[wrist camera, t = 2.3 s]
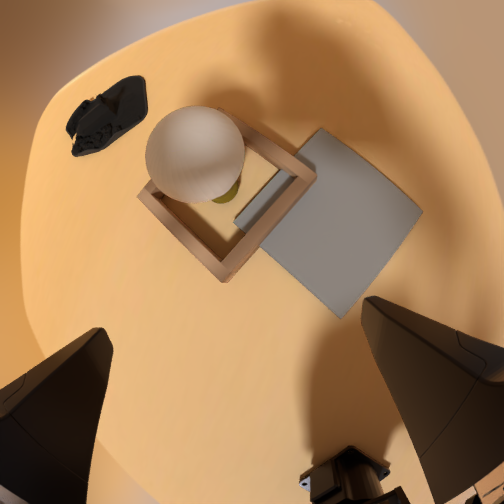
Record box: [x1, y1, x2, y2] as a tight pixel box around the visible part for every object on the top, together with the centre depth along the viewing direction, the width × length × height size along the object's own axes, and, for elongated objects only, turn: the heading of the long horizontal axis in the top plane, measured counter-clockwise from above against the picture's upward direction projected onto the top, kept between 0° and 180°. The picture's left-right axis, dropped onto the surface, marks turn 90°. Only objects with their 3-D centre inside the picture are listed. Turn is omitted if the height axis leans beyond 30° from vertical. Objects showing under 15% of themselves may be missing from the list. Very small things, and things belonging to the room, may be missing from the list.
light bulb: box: [145, 106, 245, 203], centre depth 17 cm, size 6×6×10 cm
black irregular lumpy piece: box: [66, 76, 148, 157], centre depth 24 cm, size 12×10×5 cm
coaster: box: [233, 128, 423, 319], centre depth 20 cm, size 11×11×1 cm
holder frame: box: [137, 108, 317, 283], centre depth 21 cm, size 10×10×2 cm
